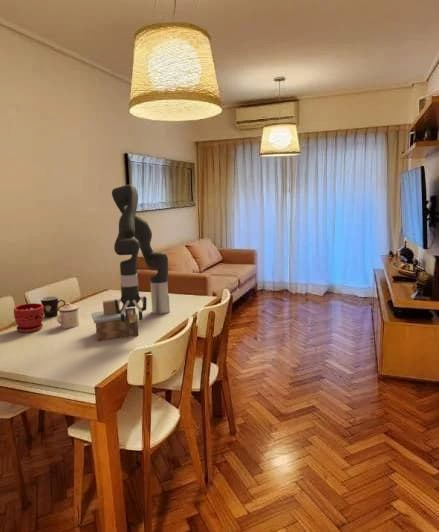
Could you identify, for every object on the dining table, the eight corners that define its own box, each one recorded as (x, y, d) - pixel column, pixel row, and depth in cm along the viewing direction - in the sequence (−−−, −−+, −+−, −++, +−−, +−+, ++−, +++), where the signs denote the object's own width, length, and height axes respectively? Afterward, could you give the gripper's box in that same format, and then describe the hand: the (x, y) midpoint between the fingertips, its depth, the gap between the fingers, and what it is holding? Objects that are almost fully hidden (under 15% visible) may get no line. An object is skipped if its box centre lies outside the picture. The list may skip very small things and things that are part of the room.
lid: (132, 310, 192) (131, 295, 190) (137, 317, 180) (136, 302, 178) (91, 315, 184) (90, 300, 183) (94, 323, 172) (93, 307, 171)
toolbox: (134, 327, 190) (133, 301, 188) (138, 336, 178) (137, 308, 176) (96, 332, 184) (94, 305, 182) (97, 342, 172) (95, 312, 170)
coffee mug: (38, 317, 211) (37, 299, 209) (50, 313, 219) (49, 295, 217) (55, 319, 207) (53, 301, 205) (67, 314, 214) (65, 297, 213)
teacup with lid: (69, 321, 202) (67, 300, 200) (83, 323, 198) (81, 301, 196) (51, 329, 191) (49, 306, 189) (65, 331, 188) (63, 307, 186)
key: (132, 313, 180) (132, 308, 180) (136, 321, 168) (136, 315, 168) (126, 314, 179) (126, 308, 179) (130, 322, 167) (129, 316, 167)
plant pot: (18, 336, 182) (15, 311, 180) (14, 329, 193) (11, 305, 190) (48, 330, 190) (45, 306, 188) (42, 323, 200) (39, 301, 198)
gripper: (144, 281, 175) (146, 316, 178) (111, 284, 171) (114, 320, 173) (147, 284, 168) (149, 321, 171) (113, 287, 164) (115, 325, 166)
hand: (131, 320), depth 172 cm, fingers open, 6 cm apart
